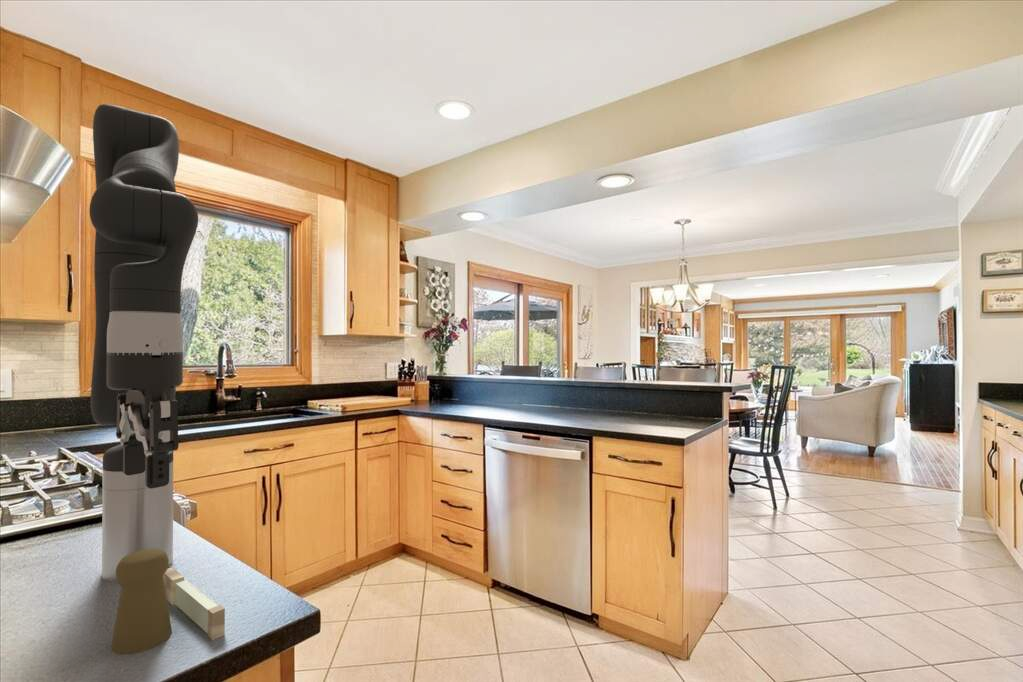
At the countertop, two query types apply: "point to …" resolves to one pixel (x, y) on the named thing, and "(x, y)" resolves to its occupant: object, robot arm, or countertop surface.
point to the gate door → (193, 603)
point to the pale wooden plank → (214, 614)
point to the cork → (141, 602)
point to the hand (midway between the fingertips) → (145, 480)
